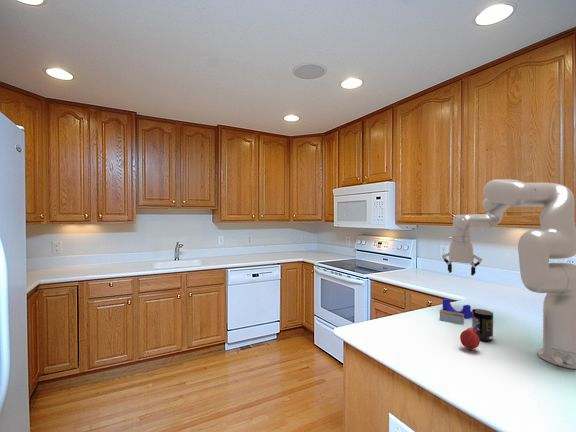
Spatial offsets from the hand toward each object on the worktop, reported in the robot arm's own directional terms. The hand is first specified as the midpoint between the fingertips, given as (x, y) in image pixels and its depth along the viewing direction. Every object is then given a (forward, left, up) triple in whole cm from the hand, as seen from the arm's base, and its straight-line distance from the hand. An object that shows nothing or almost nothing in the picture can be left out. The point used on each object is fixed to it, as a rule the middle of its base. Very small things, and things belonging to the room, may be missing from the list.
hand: (461, 273), depth 143 cm
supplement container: (-33, -13, -18) cm, 40 cm away
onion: (-47, -11, -18) cm, 52 cm away
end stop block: (-21, 0, -18) cm, 27 cm away
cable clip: (-8, 0, -19) cm, 20 cm away
